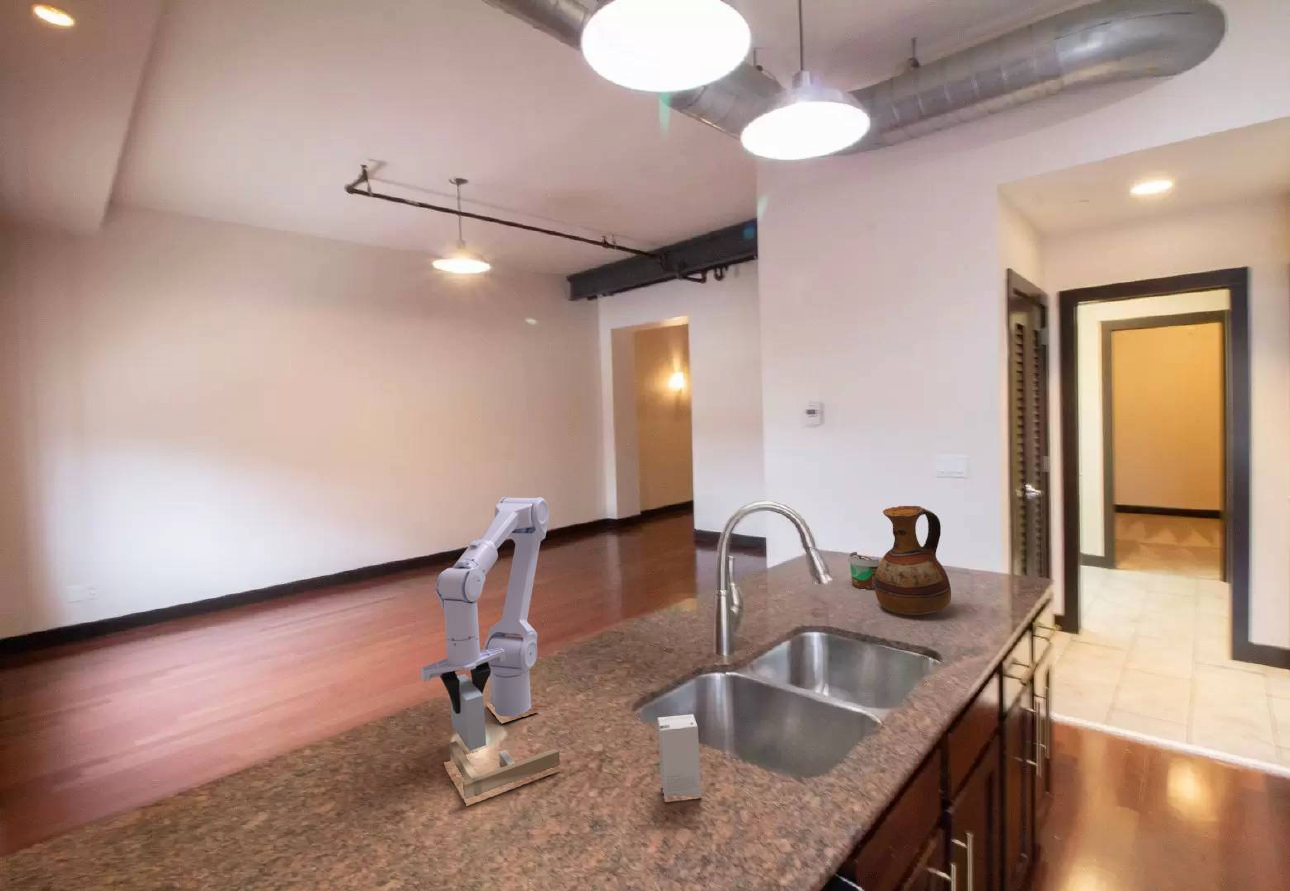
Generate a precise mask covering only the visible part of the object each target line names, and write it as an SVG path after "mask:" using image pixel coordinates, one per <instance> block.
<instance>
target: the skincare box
mask: <svg viewBox="0 0 1290 891" xmlns="http://www.w3.org/2000/svg"><path fill="white" fill-rule="evenodd" d="M656 720H657V732H658V733H657V734H658V748H659V752H658V753H659V765H660V767H659V769H660V782H661V783H662V785H661V789H662V788H663V790H662V794H663V793H664V796H663V798H664V797H671V796H687V795H697V794H698V795H700V794H701V795H702V780H701V759H700V757H701V756H700V743H699V742H700V741H699V727H698V724H697V722H696V718H695V715H694V714H693V713H691V714H682V715H672V716H671V715H670V716H661V717H660V716H659V717H657V719H656ZM661 783H660V784H661Z"/></svg>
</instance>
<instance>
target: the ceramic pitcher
mask: <svg viewBox="0 0 1290 891" xmlns="http://www.w3.org/2000/svg"><path fill="white" fill-rule="evenodd" d="M882 513H883V515H884V516H886V517H887V518H888V519H889V520H890V522H891V524H892V535H893V537H894V541H893V546H892V548H891V549H889V550H888V551H886V553H885V554H884V555H883V556H882V558H881V560H879V562H880V563H879V565H878V568H877V571H876V576H875V590H874V592H875V596H876V599H877V601H878V604H880V605H881V607H883V608H884V609H886V610H888V611H890V612H892V613H897V614H902V615H903V614H904V615H924V614H930V613H935V612H938V611H941V610H943V609H945V608H946V607H947V606H949V605H950V602H951V598H952V590H951V583H950V579H949V577H948V574H947V572H946V570H945V568H944V566H943V565H942V564H941V562H940V561H939V560H938V558H937V549H938V547H939V543H940V538H941V528H942V526H941V521H940V519H939V517H938V515H936V514H935V513H934V512H933V511H931V510H929V509H926V508H924V507H921V506H918V505H899V506H895V507H894V506H892V507H888V508H885V509H884V510H883V511H882ZM924 515H925V516H926V520H927V536H926V539H925V542H924V545H921V544H920V542H919V541H918V537H917V529H916V526H917V522H918V520H919V518H920V517H921V516H924Z"/></svg>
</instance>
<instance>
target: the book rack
mask: <svg viewBox="0 0 1290 891" xmlns="http://www.w3.org/2000/svg"><path fill="white" fill-rule="evenodd" d="M448 745H449V757H451V758H452V760H453V762H454V763H455V765H456V767H457V768H458V770H459V772H460V773H461V775H462V777H463V778H464V780H465V781H463V790H464V796H465V798H466V799H468V798H470V797H473V796H478V795H480V794H482V793H484V792H487V791H490V790H492V789H495V788H497V787H501V786H503V785H506V784H508V783H512V782H516V781H518V780H520V779H523V778H526V777H531V776H533V775H535V774H537V773H541V772H543V771H545V770H547V769H550V768H554V767H556V766H558V765H560V750H558V748H553V749H550V750H548V751H545V752H544V753H541V754H538V755H536V756H533V757H530V758H527V759H524V760H522V761H519V762H516V763H515V761H514V760H513V759H512V757H511V756H510V755H509V753H508V752H507V751H506V750H503V751H500V752H499V765H500V767H501V768H499V769H496V770H493V771H491V772H488V773H485V774H482V775H479V776H478V774H477V773H476V771H475V769H474V768H473V766H472V765H471V763H470V762H469V760H468V759H467V757H466V755H465V754H466V753H464V750H463V749H462V748H461V746H460V744H459V743H458V741H457V740H454V741H451V742H449V744H448ZM560 766H561V765H560Z"/></svg>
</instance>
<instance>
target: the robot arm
mask: <svg viewBox="0 0 1290 891" xmlns="http://www.w3.org/2000/svg"><path fill="white" fill-rule="evenodd" d="M549 519H550V509H549V506H548V503H547V502H546V500H545V498H543V497H541V496H540V497H508V496H502V497H501V498H500V499H499V501H498V502H497V503H496V505H495V507H494V518H493V520H492V522H491V523H490V525H489V527H488V528H487V530H486V531H485V533H484V535H483V536H482V538H481V539H479V538H478V539H475V540H472V541H471V543H470V544H469V546H468V547H467V548H466V550H465V551H464V552H463V553H462V554H461V556H460V557H459V558H458V560H457V561H456V562H455V563H454V565H453V566H452V567H448V568H446V569H445V570H443V571H442V572H441V573H440V574H439V575H438V577H437V581H436V586H435V587H434V588H435V589H434V591H435V595H436V597H437V599H438V600H439V602H440V609H441V610H442V611H443V612H444V616H443V617H444V629H445V632H444V633H445V644H446V645H445V647H446V648H445V649H446V658H443V659H441V660H438V661H435V662H433V663H431V664H428V665H425V666H421V667H420V674H421V676H420V677H421V680H422V681H423V682H424V683H425V682H426V683H427V682H429V681H431V679H434V678H440V679H441V682H442V683H443V685H444V687H445V688H446V692H447V693H448V695H449V699H450V698H451V701H452V705H453V710H454V712H455V713H456V714H459V713H460V700H459V684H460V680H459V679H458V678H457V676H458V674H456V673H458V672H462V671H465V672H468V671H470V675H471V676H470V678H471V681H472V683H473V684H474V685H475V686H476V687H477V689H478V690H479V691H480V692H481V693H482V694H483V693H484V690H485V688H486V684H487V682H488V680H489V695H490V697H489V698H490V703H491V704H492V705H493V707H495V712H496V713H497V714H498V715H500V716H517V715H520V714H523V713H525V712H527V711H528V710H529V709H530V708H531V703H532V701H531V700H532V698H531V696H532V695H531V683H530V682H531V680H530V679H531V678H530V670H531V669H532V667H533V666H534V665H535V663H536V661H537V658H538V657H537V656H538V645H537V644H538V633H537V631H536V630H535V629H534V627H532V625H531V624H529V622H528V617H529V612H530V611H529V610H530V605H531V600H532V593H533V589H534V588H533V587H534V581H535V576H536V571H537V563H538V559H539V558H538V557H539V554H540V553H539V552H540V545H541V542H542V541H543V540H544V539H546V534H547V531H548V530H547V529H548V524H549ZM507 538H509V539H510V540H512V541H513V542H514V544H515V546H514V550H513V551H514V552H513V557H512V564H511V566H510V567H511V568H510V574H509V579H508V584H507V590H506V595H505V601H504V606H503V612H502V617H501V619H500V620H499V621H497V622H496V623H494V624H493V625H491V627H490V628H489V630H488V633H487V634H488V635H487V637H486V640H485V642H484V644H483V646H482V650H481V647H480V646H481V644H480V629H479V628H480V627H479V611H478V599H479V598H480V597H481V595H482V593H483V589H484V584H485V583H486V575H487V574H488V573H489V571H490V570H491V568H492V567H493V565H494V564H495V563H496V562H497V560H498V558H499V555H498V554H499V553H498V548H500V546H501V545H502V544H503V543H504V542H505V541H506V540H507ZM517 636H521V637H517ZM483 695H484V694H483Z"/></svg>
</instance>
